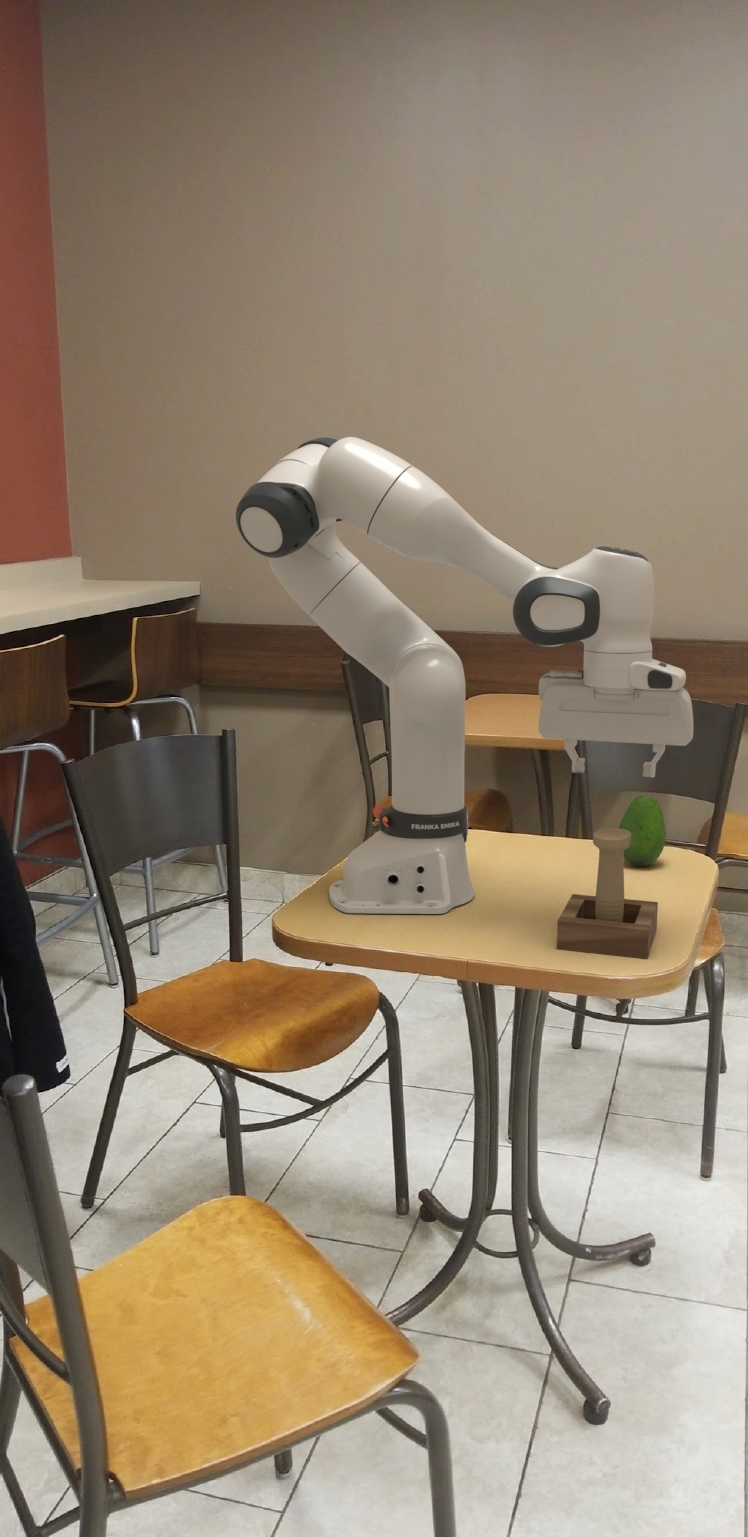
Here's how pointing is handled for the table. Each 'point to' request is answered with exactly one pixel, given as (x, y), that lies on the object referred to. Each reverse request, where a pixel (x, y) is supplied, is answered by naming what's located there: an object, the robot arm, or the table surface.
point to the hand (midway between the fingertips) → (613, 774)
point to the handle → (610, 873)
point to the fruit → (644, 831)
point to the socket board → (607, 928)
